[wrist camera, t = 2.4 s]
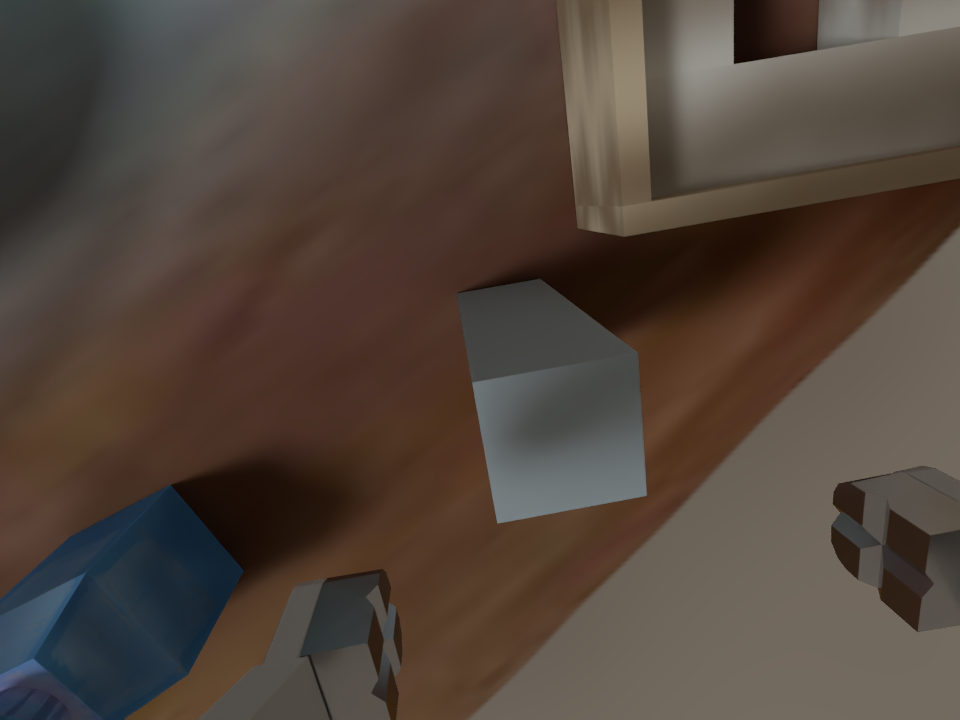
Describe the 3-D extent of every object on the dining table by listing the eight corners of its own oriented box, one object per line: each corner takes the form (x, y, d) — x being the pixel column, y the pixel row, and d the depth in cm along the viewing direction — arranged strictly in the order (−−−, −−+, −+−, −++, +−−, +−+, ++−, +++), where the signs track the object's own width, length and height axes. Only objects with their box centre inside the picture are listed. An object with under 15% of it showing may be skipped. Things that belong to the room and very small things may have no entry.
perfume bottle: (170, 484, 25) (-59, 722, 13) (244, 570, 27) (96, 843, 15) (70, 536, 25) (-235, 810, 14) (149, 617, 27) (-63, 916, 16)
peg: (456, 293, 23) (471, 382, 12) (540, 278, 23) (637, 352, 12) (470, 372, 24) (497, 523, 13) (550, 358, 24) (646, 495, 13)
